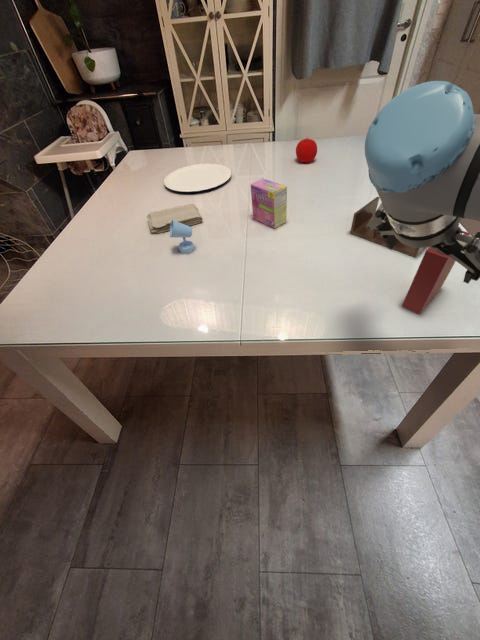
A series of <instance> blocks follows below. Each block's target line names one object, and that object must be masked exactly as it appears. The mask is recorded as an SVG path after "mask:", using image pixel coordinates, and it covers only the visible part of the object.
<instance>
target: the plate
mask: <svg viewBox="0 0 480 640" xmlns="http://www.w3.org/2000/svg"><path fill="white" fill-rule="evenodd" d="M231 177H232V171H231V169H230V168H229V167H227V166H226V165H223V164H220V163H207V162H205V163H195V164H189V165H186V166H183V167H180V168H176V169H175V170H173V171H171V172H169V173H168V174H167V175H166V176H165V177H164V180H163V185H164V186H165V188H167V189H168V190H171V191H173V192H179V193H197V192H198V193H199V192H203V191H204V192H205V191H209V190H211V189H215V188H217V187H219V186H221V185H223V184H225V183H226V182H228V181H229V180H230V178H231Z"/></svg>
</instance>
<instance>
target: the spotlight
mask: <svg viewBox="0 0 480 640" xmlns="http://www.w3.org/2000/svg"><path fill="white" fill-rule="evenodd" d="M192 235H193V227H191V226H190V225H189V226H187V225H184V224H182V223H179V222H177V221H174V220H172V221H171V225H170V230H169V238H182V240H183V241H181V242H180V243H179V244H178V250H179V252H180V254H183V255H187V254H190V253H192V252H194V250H195V246H194V243H193V241H191V240H187V239H186V238H192Z"/></svg>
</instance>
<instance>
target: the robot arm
mask: <svg viewBox="0 0 480 640" xmlns="http://www.w3.org/2000/svg"><path fill="white" fill-rule="evenodd" d="M364 158H365V160H366V164H367V168H368V170H367V172H368V179H369V181H370V183H371V184H372V185H373V187H374V188H375V190H376V192H377V195H378V197H380V198H379V201H381V203H380V205H378V207H377V209H376V212H375V213H374V214H373V216H372V217H371V219H370V221H369V222H368V224H367V225H366V228H367V229H368V230H372V229H376V233H377V234H378V235H380V236H381V237H382V238H383V240H384V242H385V244H386V246H387V247H386V246H385V247H386V248H387V249H389V250H391V251H392V250H393V249H392V248H393V247H394V245H395V244H396V243H397V241H398V240H399V241H400V242H401V243H403V244H405V245H407V246H410V247H415V248H425V247H426V248H429V247H431V248H433V249H434V250H435V251H437V252H438V253H439V254H442V255H449V256H450V257H451V258H453V259H454V260H455V261H456V262H457V263H458V264H459V265H460V266H462V267H463V268H464V269H466V271H465V273H464V277H463V283H466V284H469V283H470V282H471V281H474V282H475V281H476V282H478V280H480V231H477V232H476V233H475V234H474V233H473V234H472V235H470V236H469V235H465V234H464V233H463V232H462V231H463V229H462V228H461V227H460V223H461V219H467V220H471V221H477V222H480V113H475V111H474V106H473V102H472V100H471V96H470V95H469V94H468V92H467V91H466V90H463V88H461V87H459V86H458V85H456V84H453V83H451V82H450V81H446V80H430V81H425V82H422V83H419V84H416V85H414V86H411V87H409V88H407V89H405V90H403V91H402V92H400V93H399V94H397V95H395V96H394V97H393V98H391V99H390V100H389V101H388V102H387V103H386V104H385V105H384V106H383V107H382V108H381V109H380V110H379V111H378V113H376V116H375V117H374V119H373V121H371V124H370V125H369V127H368V131H367V133H366V135H365V140H364ZM441 245H444V246H443V247H442V246H441ZM426 248H425V249H426Z"/></svg>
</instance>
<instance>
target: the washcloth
mask: <svg viewBox="0 0 480 640" xmlns="http://www.w3.org/2000/svg"><path fill="white" fill-rule="evenodd" d="M146 218H147V220H148V225H149V229H150V231H151V233H155V234H161V233H164V232H169V231H170V225H171V221H172V220H174V221H177V222H179V223H182V224H184V225H187V226H189V227H190V226H193V225H196V224H200V223H202V222H203V217H202V215H201V214H200V213H199V209H198V207H197V206H196V205H195V204H193V203H190V204H185V205H181V206H180V205H178V206H174V207H171V208H165V209H161V210H157V211H152V212H149V213H148V214H147V216H146Z"/></svg>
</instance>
